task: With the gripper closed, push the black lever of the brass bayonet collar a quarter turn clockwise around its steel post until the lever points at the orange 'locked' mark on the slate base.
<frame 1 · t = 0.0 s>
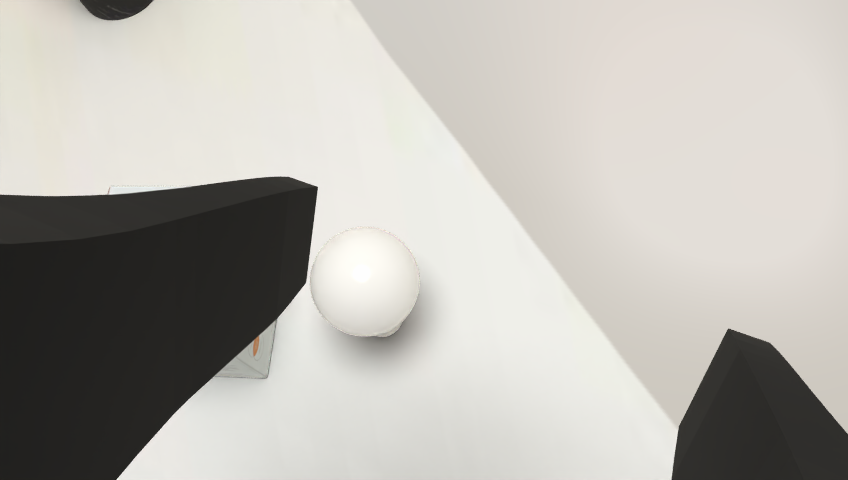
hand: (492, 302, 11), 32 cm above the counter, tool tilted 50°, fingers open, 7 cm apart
lightbulb: (384, 321, 45), on the counter
small box: (234, 322, 46), on the counter
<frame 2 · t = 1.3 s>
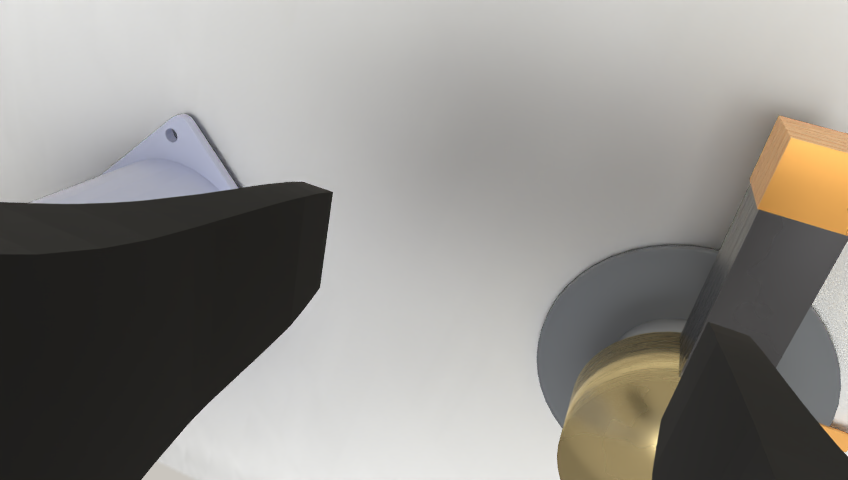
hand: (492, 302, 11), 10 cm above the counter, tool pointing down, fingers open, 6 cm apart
collar: (718, 362, 16), point 4 cm above the counter, hinge at 0.0°
post base: (676, 372, 21), on the counter
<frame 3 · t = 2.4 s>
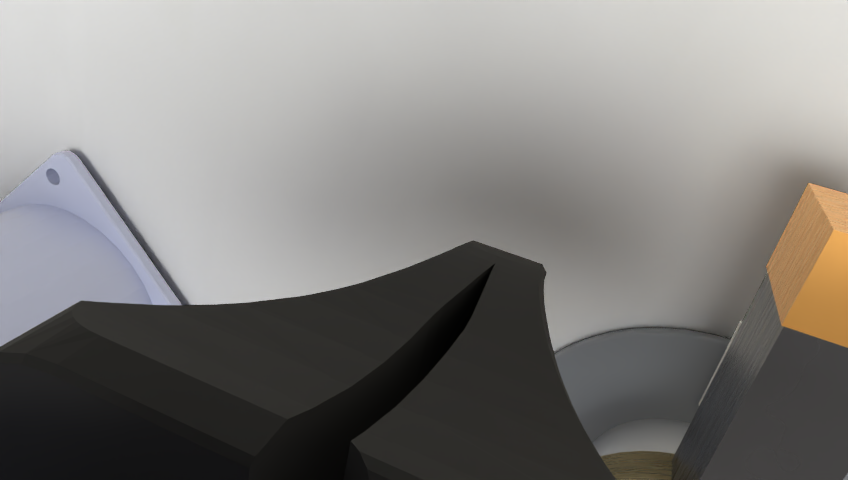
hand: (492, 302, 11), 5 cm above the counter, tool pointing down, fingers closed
post base: (668, 479, 17), on the counter
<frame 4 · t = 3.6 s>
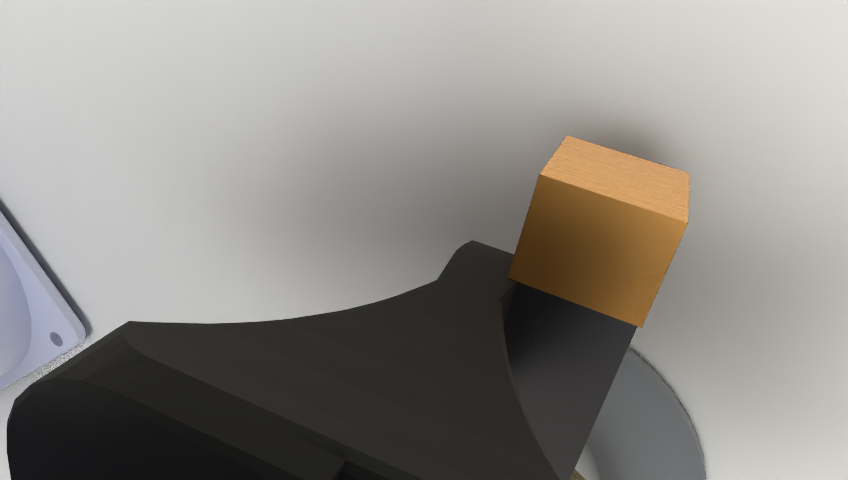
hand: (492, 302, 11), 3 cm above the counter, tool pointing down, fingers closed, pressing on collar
collar: (507, 475, 12), point 4 cm above the counter, hinge at -0.8°, touching gripper
post base: (513, 456, 17), on the counter
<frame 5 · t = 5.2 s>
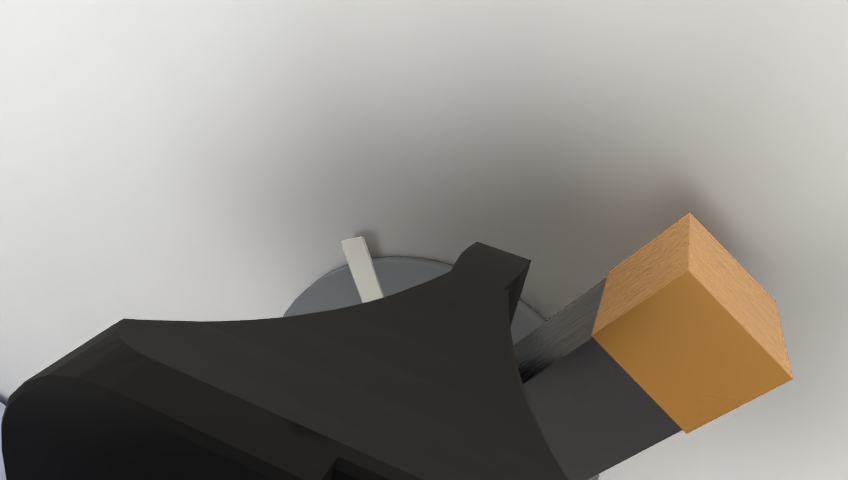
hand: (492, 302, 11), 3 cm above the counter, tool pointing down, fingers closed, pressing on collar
collar: (454, 464, 12), point 4 cm above the counter, hinge at -60.7°, touching gripper
post base: (425, 413, 17), on the counter
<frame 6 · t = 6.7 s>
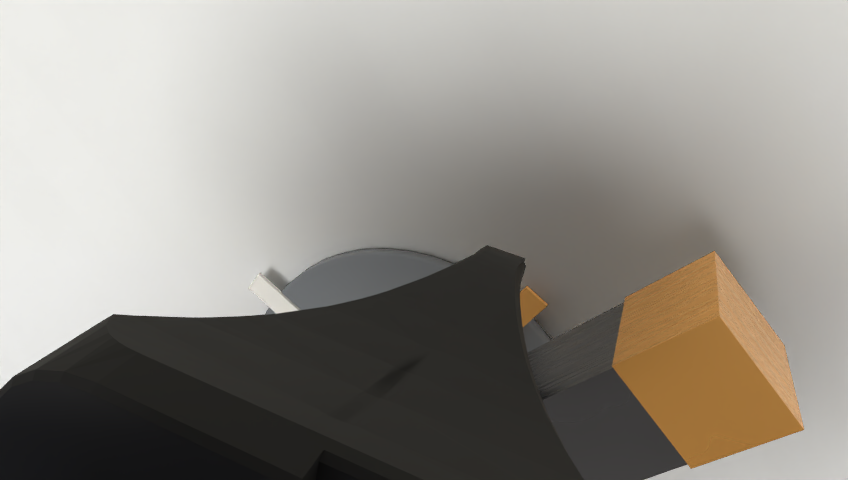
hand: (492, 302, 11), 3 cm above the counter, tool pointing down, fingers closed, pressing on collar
collar: (447, 467, 12), point 4 cm above the counter, hinge at -101.3°, touching gripper
post base: (410, 405, 17), on the counter
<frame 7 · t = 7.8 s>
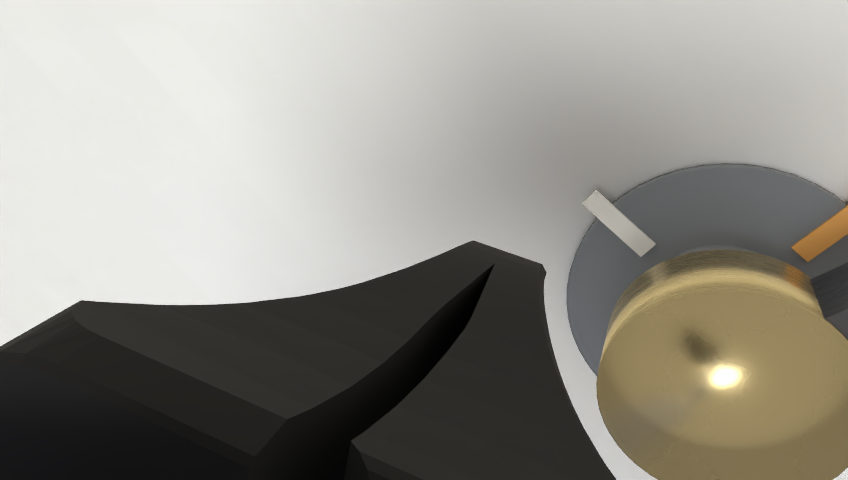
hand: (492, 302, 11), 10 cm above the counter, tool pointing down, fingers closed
collar: (846, 324, 15), point 4 cm above the counter, hinge at -101.4°
post base: (717, 306, 20), on the counter
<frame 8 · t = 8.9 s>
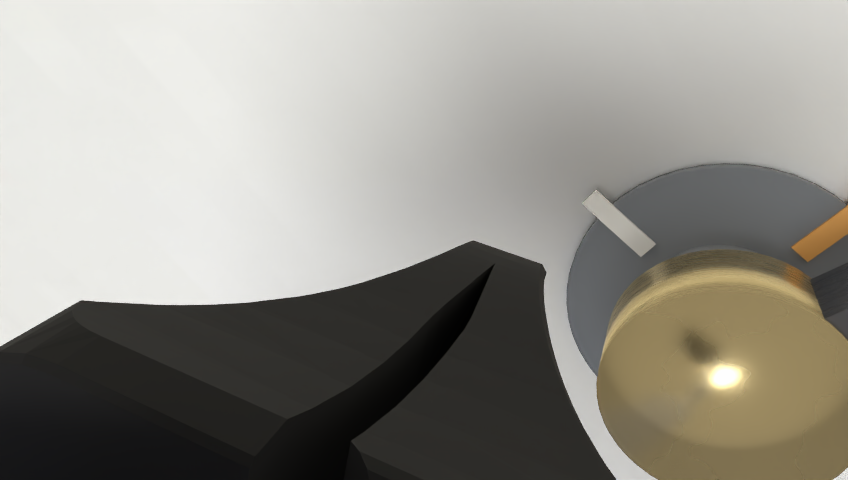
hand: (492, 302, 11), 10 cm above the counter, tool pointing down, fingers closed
collar: (846, 324, 15), point 4 cm above the counter, hinge at -101.4°
post base: (717, 306, 20), on the counter
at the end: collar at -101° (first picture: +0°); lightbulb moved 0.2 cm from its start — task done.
